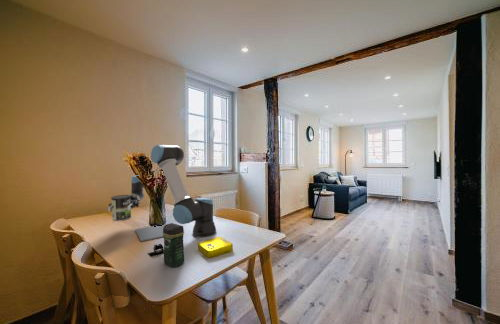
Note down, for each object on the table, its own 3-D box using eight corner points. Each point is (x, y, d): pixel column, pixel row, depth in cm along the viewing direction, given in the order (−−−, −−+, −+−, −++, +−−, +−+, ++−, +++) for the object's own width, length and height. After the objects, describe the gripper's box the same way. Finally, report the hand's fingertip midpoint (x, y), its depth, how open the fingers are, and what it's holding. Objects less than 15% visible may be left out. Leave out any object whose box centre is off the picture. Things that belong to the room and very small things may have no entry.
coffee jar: (187, 262, 105) (186, 224, 104) (172, 269, 99) (171, 228, 98) (175, 257, 111) (174, 220, 110) (160, 263, 105) (159, 224, 104)
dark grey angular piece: (168, 248, 123) (168, 240, 123) (172, 252, 117) (172, 244, 117) (144, 254, 116) (144, 246, 116) (147, 259, 110) (147, 250, 110)
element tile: (234, 252, 117) (234, 243, 117) (208, 260, 108) (208, 250, 108) (220, 243, 129) (220, 235, 129) (196, 250, 120) (195, 241, 120)
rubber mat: (174, 234, 143) (174, 233, 143) (140, 241, 132) (140, 240, 132) (165, 225, 165) (165, 223, 165) (135, 230, 154) (135, 229, 154)
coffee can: (135, 216, 142) (134, 194, 141) (123, 221, 132) (122, 198, 131) (120, 215, 144) (119, 194, 143) (108, 221, 134) (106, 198, 133)
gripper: (149, 204, 157) (138, 213, 135) (114, 206, 154) (98, 216, 132) (148, 194, 157) (138, 201, 135) (114, 195, 153) (97, 203, 131)
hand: (118, 208), depth 133 cm, fingers closed on coffee can, 10 cm apart
